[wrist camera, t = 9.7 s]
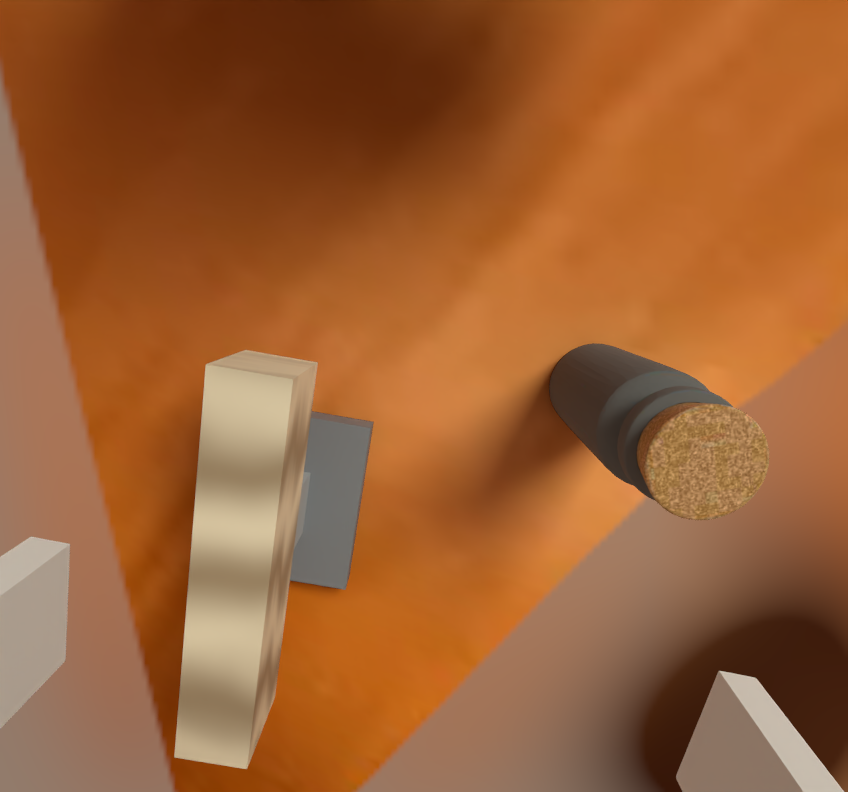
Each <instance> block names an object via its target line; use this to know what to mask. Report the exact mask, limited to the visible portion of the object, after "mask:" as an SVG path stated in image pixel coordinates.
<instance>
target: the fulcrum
mask: <svg viewBox="0 0 848 792" xmlns="http://www.w3.org/2000/svg"><path fill="white" fill-rule="evenodd" d="M372 428H373V422H370V421H365V420H359V419H353V418H347V417H341V416H336V415H330V414H324V413H318V412H313V411H312V412H311V419H310V427H309V435H308V443H307V450H306V458H305V466H304V474H303V482H302V489H301V497H300V505H299V513H298V521H297V528H296V536H295V544H294V552H293V559H292V567H291V575H290V580H291V581H297V582H303V583H309V584H315V585H321V586H327V587H333V588H339V589H344V590H345V589H346V586H347V583H348V579H349V574H350V568H351V561H352V555H353V549H354V542H355V536H356V530H357V523H358V517H359V511H360V504H361V498H362V492H363V485H364V479H365V472H366V466H367V460H368V453H369V447H370V441H371V434H372Z"/></svg>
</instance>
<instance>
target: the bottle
mask: <svg viewBox="0 0 848 792" xmlns="http://www.w3.org/2000/svg"><path fill="white" fill-rule="evenodd" d="M549 393H550V399H551V402H552V405H553V407H554V409H555V411H556V412H557V413H558V415H559V416H560V417H561V418H562V420H563V421H564V422H565V423H566V424H567V425H568V427H569V428H570V429H571V430H572V431H573V432H574V433H575V434H576V435H577V436H578V438H579V439H580V440H581V441H582V442H583V443H584V444H585V445H586V446H587V447H588V448H589V449H590V451H591V452H592V453H593V454H594V455H595V456H596V457H597V458H598V459H599V460H600V461H601V462H602V463H603V465H604V466H605V467H606V468H607V469H608V470H610V471H611V472H612V473H613V474H614V475H615V476H616V477H618V478H619V479H621V480H623V481H624V482H626V483H628V484H631V485H634V486H635V487H636V488H637V489H638V490H639V491H641V492H642V493H643V494H645V495H646V496H647V497H649V498H651V499H653V500H656V501H657V502H658V503H659V504H660V505H661V506H662V507H663V508H665V509H666V510H667V511H669V512H670V513H672V514H674V515H677V516H679V517H682V518H686V519H692V520H710V519H715V518H719V517H722V516H725V515H728V514H730V513H732V512H734V511H736V510H737V509H739V508H740V507H742V506H743V505H745V504H746V503H747V502H748V501H749V500H750V499H751V498H752V497H753V496H754V495H755V494H756V492H757V491H758V489H759V488H760V486H761V485H762V483H763V481H764V478H765V476H766V473H767V469H768V465H769V448H768V443H767V440H766V437H765V435H764V433H763V431H762V430H761V428H760V426H759V425H758V424H757V423H756V422H755V421H754V420H753V419H752V418H751V417H750V416H749V415H747V414H746V413H744V412H742V411H741V410H739V409H737V408H734V407H733V406H732V405H730V404H729V403H728V402H727V401H726V400H724V399H723V398H722V397H720V396H718V395H716V394H714V393H712V392H710V391H709V390H708V389H707V388H706V387H705V386H704V385H703V384H702V383H700V382H699V381H698V380H697V379H695V378H693V377H691V376H689V375H687V374H685V373H683V372H680V371H678V370H675V369H673V368H671V367H668V366H665V365H663V364H660V363H657V362H654V361H652V360H649V359H646V358H643V357H641V356H638V355H635V354H632V353H630V352H627V351H624V350H621V349H619V348H616V347H613V346H609V345H605V344H587V345H583V346H580V347H578V348H576V349H574V350H572V351H570V352H569V353H567V354H566V355H565V356H564V357H563V358H562V359H561V360H560V361H559V362H558V364H557V365H556V367H555V369H554V371H553V373H552V376H551V379H550V384H549Z"/></svg>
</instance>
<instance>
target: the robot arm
mask: <svg viewBox="0 0 848 792" xmlns="http://www.w3.org/2000/svg"><path fill="white" fill-rule="evenodd" d="M69 557H70V544H67V543H62V542H57V541H51V540H46V539H41V538H36V537H30V538H28V539H27V540H25V541H24V542H22V543H21V544H19V545H17V546H16V547H15V548H13V549H12V550H10V551H9V552H7V553H5V554H4V555H2V556H1V557H0V729H1V728H2V727H3V726H4V724H5V723H6V722H7V721H8V720H9V719H10V718H11V717H12V716H13V715H14V714H15V713H16V712H17V711H18V710H19V709H20V708H21V707H22V706H23V705H24V704H25V702H26V701H27V700H28V699H29V698H30V697H31V696H32V695H33V694H34V693H35V692H36V691H37V690H38V689H39V688H40V687H41V686H42V685H43V684H44V682H46V681H47V679H48V678H49V677H50V676H51V675H52V674H53V673H54V672H55V671H56V670H57V669H58V668H59V667H60V666H61V665H62V664H63V662H65V658H66V632H67V608H68V607H67V605H68V582H69ZM676 779H677V781H678V783H679V785H680V787H681V789H682V791H683V792H844V791H843V790H842V788H841V787H840V786H839V785H838V783H837V782H836V781H835V780H834V778H833V777H832V776H831V774H830V773H829V772H828V770H827V769H826V768H825V767H824V765H823V764H822V763H821V761H820V760H819V759H818V758H817V756H816V755H815V754H814V752H813V751H812V750H811V749H810V747H809V746H808V745H807V743H806V742H805V741H804V739H803V738H802V737H801V736H800V734H799V733H798V732H797V730H796V729H795V728H794V727H793V725H792V724H791V723H790V722H789V720H788V719H787V718H786V716H785V715H784V714H783V712H782V711H781V710H780V708H779V707H778V706H777V705H776V703H775V702H774V701H773V699H772V698H771V697H770V696H769V695H768V693H767V692H766V691H765V689H764V688H763V687H762V685H761V684H760V683H759V681H758V680H757V679H756V678H754V677H749V676H743V675H738V674H733V673H728V672H723V671H719V672H718V674H717V677H716V679H715V682H714V684H713V687H712V689H711V692H710V694H709V696H708V699H707V701H706V704H705V706H704V709H703V711H702V714H701V716H700V719H699V721H698V723H697V726H696V728H695V731H694V733H693V736H692V739H691V741H690V743H689V746H688V748H687V751H686V753H685V756H684V758H683V760H682V763H681V765H680V768H679V770H678V773H677V775H676Z"/></svg>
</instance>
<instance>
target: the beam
mask: <svg viewBox="0 0 848 792" xmlns="http://www.w3.org/2000/svg"><path fill="white" fill-rule="evenodd" d="M317 365H318V362H312V361H306V360H301V359H295V358H289V357H283V356H278V355H272V354H266V353H260V352H255V351H249V350H244V351H241V352H238V353H236V354H233V355H230V356H227V357H225V358H222V359H219V360H216V361H213V362H211V363H208V364H206V369H205V381H204V394H203V406H202V418H201V431H200V443H199V456H198V468H197V481H196V493H195V506H194V518H193V531H192V543H191V556H190V568H189V581H188V593H187V606H186V618H185V630H184V643H183V655H182V668H181V680H180V693H179V705H178V718H177V730H176V743H175V755H174V757H175V758H181V759H187V760H193V761H200V762H206V763H212V764H218V765H224V766H231V767H237V768H243V769H247V768H248V765H249V763H250V760H251V757H252V755H253V752H254V750H255V747H256V745H257V742H258V739H259V737H260V734H261V732H262V729H263V726H264V724H265V721H266V719H267V716H268V714H269V711H270V708H271V706H272V703H273V701H274V698H275V692H276V684H277V676H278V668H279V661H280V653H281V645H282V637H283V630H284V622H285V614H286V606H287V598H288V591H289V583H290V575H291V567H292V559H293V552H294V544H295V536H296V528H297V521H298V513H299V505H300V497H301V489H302V482H303V474H304V466H305V458H306V450H307V443H308V435H309V427H310V419H311V412H312V404H313V396H314V388H315V380H316V373H317Z"/></svg>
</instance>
